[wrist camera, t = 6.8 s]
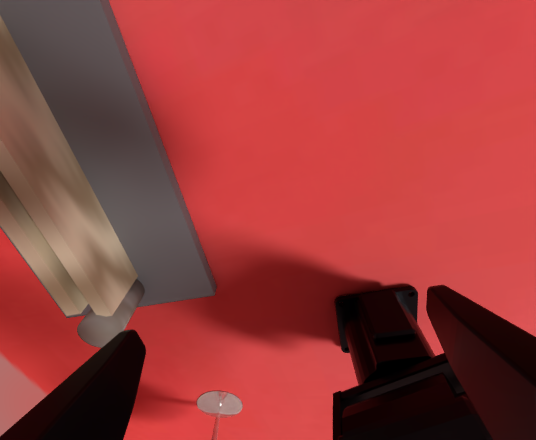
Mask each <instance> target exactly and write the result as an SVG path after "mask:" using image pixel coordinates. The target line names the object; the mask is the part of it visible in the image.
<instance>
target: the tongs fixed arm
mask: <svg viewBox="0 0 536 440" xmlns="http://www.w3.org/2000/svg"><path fill="white" fill-rule="evenodd" d="M0 171H1V173H2V174H3V176H4V177H5V179H6V180H7V182H8V183H9V185H10V186H11V188H12V189H13V191H14V192H15V194H16V195H17V197H18V198H19V200H20V201H21V203H22V204H23V206H24V207H25V209H26V210H27V212H28V213H29V215H30V216H31V218H32V219H33V221H34V222H35V224H36V225H37V227H38V228H39V230H40V231H41V233H42V234H43V236H44V237H45V239H46V240H47V242H48V243H49V245H50V246H51V248H52V249H53V251H54V252H55V254H56V255H57V257H58V258H59V260H60V261H61V263H62V264H63V266H64V267H65V269H66V270H67V272H68V273H69V275H70V276H71V278H72V279H73V281H74V282H75V284H76V285H77V287H78V288H79V290H80V291H81V293H82V294H83V296H84V297H85V299H86V300H87V302H88V303H89V305H90V306H91V309H90V311H89V312H88V313H87V315H86V316H85V317H84V319H83V320H82V321H81V323H80V324H79V325H78V327H77V332H78V335H79V336H80V338H81V339H82V340H83V341H85V342H86V343H88V344H90V345H92V346H95V347H100V348H102V347H103V346H105V345H106V344H107V343H108V342H109V341H110V340H111V339H113V338H114V337H115V336H116V335H117V334H118V333H120V332H121V331H124V329H125V327H126V325H127V324H128V322H129V320H130V318H131V317H132V315H133V313H134V311H135V310H136V308H137V306H138V304H139V303H140V301H141V299H142V297H143V296H144V293H145V289H144V286H143V284H142V283H141V282H140V281H139V280H137V279H136V278H137V277H138V275H137V273H136V271H135V269H134V267H133V265H132V263H131V262H130V260H129V258H128V256H127V254H126V252H125V250H124V248H123V246H122V244H121V243H120V241H119V239H118V237H117V235H116V233H115V231H114V229H113V227H112V226H111V224H110V222H109V220H108V218H107V216H106V214H105V212H104V210H103V209H102V207H101V205H100V203H99V201H98V199H97V197H96V195H95V193H94V192H93V190H92V188H91V186H90V184H89V182H88V180H87V178H86V176H85V174H84V173H83V171H82V169H81V167H80V165H79V163H78V161H77V159H76V157H75V156H74V154H73V152H72V150H71V148H70V146H69V144H68V142H67V140H66V139H65V137H64V135H63V133H62V131H61V129H60V127H59V125H58V123H57V121H56V120H55V118H54V116H53V114H52V112H51V110H50V108H49V106H48V104H47V103H46V101H45V99H44V97H43V95H42V93H41V91H40V89H39V87H38V86H37V84H36V82H35V80H34V78H33V76H32V74H31V72H30V70H29V68H28V67H27V65H26V63H25V61H24V59H23V57H22V55H21V53H20V51H19V50H18V48H17V46H16V44H15V42H14V40H13V38H12V36H11V34H10V33H9V31H8V29H7V27H6V25H5V23H4V21H3V19H2V17H1V16H0Z"/></svg>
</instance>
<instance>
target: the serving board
mask: <svg viewBox="0 0 536 440" xmlns="http://www.w3.org/2000/svg"><path fill="white" fill-rule="evenodd" d="M0 16H1V17H2V19H3V21H4V23H5V25H6V27H7V29H8V31H9V33H10V34H11V36H12V38H13V40H14V42H15V44H16V46H17V48H18V50H19V51H20V53H21V55H22V57H23V59H24V61H25V63H26V65H27V67H28V68H29V70H30V72H31V74H32V76H33V78H34V80H35V82H36V84H37V86H38V87H39V89H40V91H41V93H42V95H43V97H44V99H45V101H46V103H47V104H48V106H49V108H50V110H51V112H52V114H53V116H54V118H55V120H56V121H57V123H58V125H59V127H60V129H61V131H62V133H63V135H64V137H65V139H66V140H67V142H68V144H69V146H70V148H71V150H72V152H73V154H74V156H75V157H76V159H77V161H78V163H79V165H80V167H81V169H82V171H83V173H84V174H85V176H86V178H87V180H88V182H89V184H90V186H91V188H92V190H93V192H94V193H95V195H96V197H97V199H98V201H99V203H100V205H101V207H102V209H103V210H104V212H105V214H106V216H107V218H108V220H109V222H110V224H111V226H112V227H113V229H114V231H115V233H116V235H117V237H118V239H119V241H120V243H121V244H122V246H123V248H124V250H125V252H126V254H127V256H128V258H129V260H130V262H131V263H132V265H133V267H134V269H135V271H136V273H137V275H138V277H137V278H136V279H137V280H139V281H140V282H141V283H142V284H143V286H144V289H145V293H144V296H143V297H142V299H141V301H140V303H139V304H138V306H137V307H142V306H149V305H155V304H162V303H168V302H175V301H181V300H188V299H195V298H201V297H208V296H214V295H215V292H216V289H217V286H216V283H215V281H214V278H213V275H212V273H211V270H210V267H209V265H208V262H207V259H206V257H205V254H204V251H203V249H202V246H201V244H200V241H199V238H198V236H197V233H196V230H195V228H194V225H193V222H192V220H191V217H190V214H189V212H188V209H187V207H186V204H185V201H184V199H183V196H182V193H181V191H180V188H179V185H178V183H177V180H176V177H175V175H174V172H173V170H172V167H171V164H170V162H169V159H168V156H167V154H166V151H165V148H164V146H163V143H162V140H161V138H160V135H159V133H158V130H157V127H156V125H155V122H154V119H153V117H152V114H151V111H150V109H149V106H148V103H147V101H146V98H145V96H144V93H143V90H142V88H141V85H140V82H139V80H138V77H137V74H136V72H135V69H134V66H133V64H132V61H131V59H130V56H129V53H128V51H127V48H126V45H125V43H124V40H123V37H122V35H121V32H120V29H119V27H118V24H117V22H116V19H115V16H114V14H113V11H112V8H111V6H110V3H109V0H0ZM0 227H1V226H0ZM1 229H2V230H3V228H2V227H1ZM3 232H4V233H5V234H6V232H5V231H4V230H3ZM6 236H7V237H8V235H7V234H6ZM8 238H9V237H8ZM9 240H10V241H11V239H10V238H9ZM11 242H12V241H11ZM12 244H13V245H14V243H13V242H12ZM14 247H15V248H16V246H15V245H14ZM16 249H17V248H16ZM17 251H18V252H19V250H18V249H17ZM19 253H20V252H19ZM20 255H21V256H22V254H21V253H20ZM22 257H23V256H22ZM23 259H24V257H23ZM24 260H25V259H24ZM25 262H26V263H27V261H26V260H25ZM27 264H28V263H27ZM28 266H29V267H30V265H29V264H28ZM30 268H31V267H30ZM31 270H32V271H33V269H32V268H31ZM33 272H34V271H33ZM34 274H35V272H34ZM35 275H36V274H35ZM36 277H37V278H38V276H37V275H36ZM38 279H39V278H38ZM39 281H40V282H41V280H40V279H39ZM41 283H42V282H41ZM42 285H43V283H42ZM43 286H44V285H43ZM44 287H45V286H44ZM45 289H46V287H45ZM46 290H47V289H46ZM47 292H48V293H49V291H48V290H47ZM49 294H50V293H49ZM50 296H51V297H52V295H51V294H50ZM52 298H53V297H52ZM53 300H54V298H53ZM54 301H55V300H54ZM55 302H56V301H55ZM56 304H57V302H56ZM57 305H58V304H57ZM58 307H59V308H60V306H59V305H58ZM60 309H61V308H60ZM90 309H91V306H90V305H89V304H88V305H87V306H86V308H85V309H84V310H83V311H82V313H81V314H76V315H69V316H66V315H65V313H64V312H63V311H62V309H61V311H62V312H63V313H64V315H65V316H66V317H67V318H70V317H77V316H83V315H87V313H88V312H89V311H90Z"/></svg>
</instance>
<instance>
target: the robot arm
mask: <svg viewBox="0 0 536 440" xmlns="http://www.w3.org/2000/svg"><path fill="white" fill-rule="evenodd" d="M410 292H411V293H410ZM340 302H343V303H340ZM417 305H418V292H417V290H416V289H415V288H414V287H412V286H408V287H401V288H394V289H387V290H380V291H373V292H366V293H360V294H353V295H346V296H339V297H337V298H336V299H335V308H336V315H337V322H338V329H339V337H340V344H341V349H342V351H343V352H345V353H350V355H351V358H352V362H353V366H354V370H355V373H356V377H357V381H358V386H356V387H353V388H350V389H348V390H345V391H342V392H341V391H338V392H336V393H333V440H536V337H535V336H533V335H531V334H530V333H528V332H526V331H524V330H523V329H521V328H519V327H517V326H515V325H514V324H512V323H510V322H508V321H507V320H505V319H503V318H501V317H500V316H498V315H496V314H494V313H493V312H491V311H489V310H487V309H486V308H484V307H482V306H480V305H479V304H477V303H475V302H473V301H472V300H470V299H468V298H466V297H465V296H463V295H461V294H459V293H457V292H456V291H454V290H452V289H450V288H449V287H447V286H445V285H438V286H431V287H429V288H428V290H427V305H426V309H427V314H428V317H429V319H430V321H431V323H432V326H433V328H434V330H435V332H436V335H437V337H438V339H439V341H440V343H441V346H442V348H443V350H444V352H445V353H443V354H440V355H437V356H435V354H434V353H433V351H432V349H431V347H430V345H429V344H428V342H427V340H426V338H425V337H424V335H423V333H422V331H421V329H420V328H419V326H418V324H417ZM145 355H146V348H145V345H144V343H143V342H142V340H141V338H140V337H139V335H138V333H137V332H136V331H135V330H126V331H121V332H120V333H118V334H117V335H116V336H115V337H114V338H113V339H111V340H110V341H109V342H108V343H107V344H106V345H105V346H103V347H102V348H101V349H100V350H99V351H98V352H97V353H95V354H94V355H93V356H92V357H91V358H90V359H89V360H87V361H86V362H85V363H84V364H83V365H82V366H81V367H79V368H78V369H77V370H76V371H75V372H74V373H73V374H71V375H70V376H69V377H68V378H67V379H66V380H65V381H63V382H62V383H61V384H60V385H59V386H58V387H57V388H55V389H54V390H53V391H52V392H51V393H50V394H49V395H47V396H46V397H45V398H44V399H43V400H42V401H40V402H39V403H38V404H37V405H36V406H35V407H34V408H33V409H31V410H30V411H29V412H28V413H27V414H26V415H24V416H23V417H22V418H21V419H20V420H19V421H18V422H16V424H14V425H13V426H12V427H11V428H10V429H8V430H7V431H6V432H5V433H4V434H3V435H2V436H0V440H123V438H124V435H125V432H126V429H127V426H128V423H129V420H130V417H131V413H132V410H133V407H134V403H135V399H136V395H137V391H138V386H139V382H140V377H141V373H142V368H143V364H144V359H145Z"/></svg>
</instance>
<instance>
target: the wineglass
mask: <svg viewBox="0 0 536 440" xmlns="http://www.w3.org/2000/svg"><path fill="white" fill-rule="evenodd" d="M197 406H198V408H199V409H200V410H201V411H202V412H203V413H205V414H206V415H209V416H212V417H216V419H215V424H214V429H213V434H212V439H211V440H217V436H218V427H219V419H220V418H227V417H232V416H234V415H236V414H238V413H239V412H240V411H241V409H242V407H243V406H242V402H241V401H240V399H239V398H238V397H236V396H235V395H233V394H230V393H228V392H222V391H212V392H207V393H205V394H203V395H201V396H200V397H199V398H198V400H197Z"/></svg>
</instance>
